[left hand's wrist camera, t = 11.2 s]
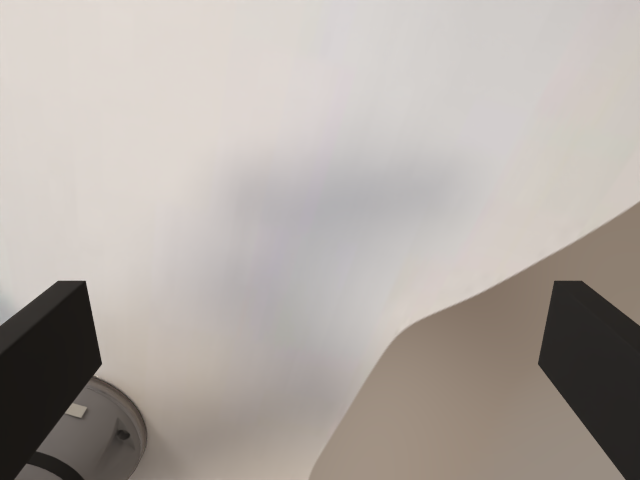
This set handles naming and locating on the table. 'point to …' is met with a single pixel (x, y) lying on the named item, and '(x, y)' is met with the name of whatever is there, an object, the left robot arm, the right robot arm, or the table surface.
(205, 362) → the table surface
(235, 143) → the table surface
